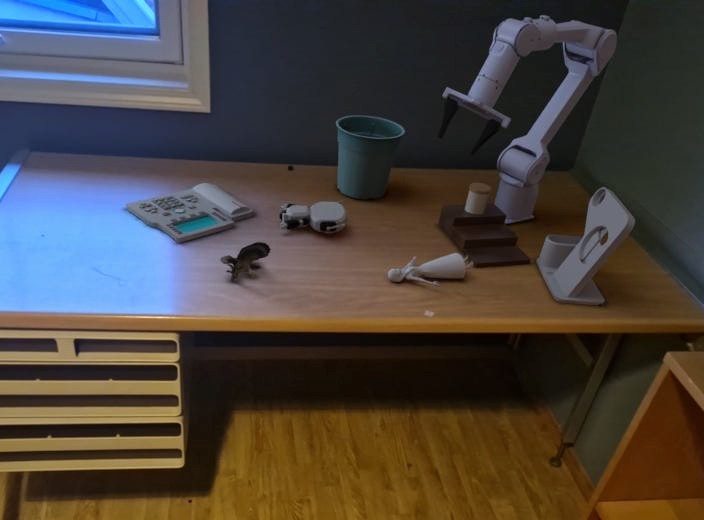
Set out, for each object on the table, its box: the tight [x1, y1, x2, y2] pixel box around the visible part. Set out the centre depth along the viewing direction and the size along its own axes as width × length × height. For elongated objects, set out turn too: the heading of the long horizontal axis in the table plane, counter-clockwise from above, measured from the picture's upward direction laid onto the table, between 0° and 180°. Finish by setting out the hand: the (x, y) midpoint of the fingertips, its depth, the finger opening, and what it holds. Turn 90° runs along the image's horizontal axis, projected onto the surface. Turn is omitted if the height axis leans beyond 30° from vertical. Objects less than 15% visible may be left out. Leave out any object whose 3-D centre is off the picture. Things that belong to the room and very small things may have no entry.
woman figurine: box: [387, 252, 474, 287], centre depth 133 cm, size 12×4×18 cm
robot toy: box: [278, 200, 348, 235], centre depth 147 cm, size 12×4×15 cm
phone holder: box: [535, 186, 636, 306], centre depth 132 cm, size 17×10×18 cm, turn 178°
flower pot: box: [335, 114, 406, 200], centre depth 161 cm, size 16×16×16 cm
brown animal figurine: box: [219, 241, 272, 283], centre depth 128 cm, size 8×7×9 cm
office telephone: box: [125, 182, 254, 243], centre depth 148 cm, size 23×3×20 cm
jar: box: [465, 182, 492, 214], centre depth 148 cm, size 5×5×6 cm
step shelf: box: [437, 202, 532, 268], centre depth 146 cm, size 20×13×5 cm, turn 15°
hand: (455, 146), depth 136 cm, fingers open, 7 cm apart
